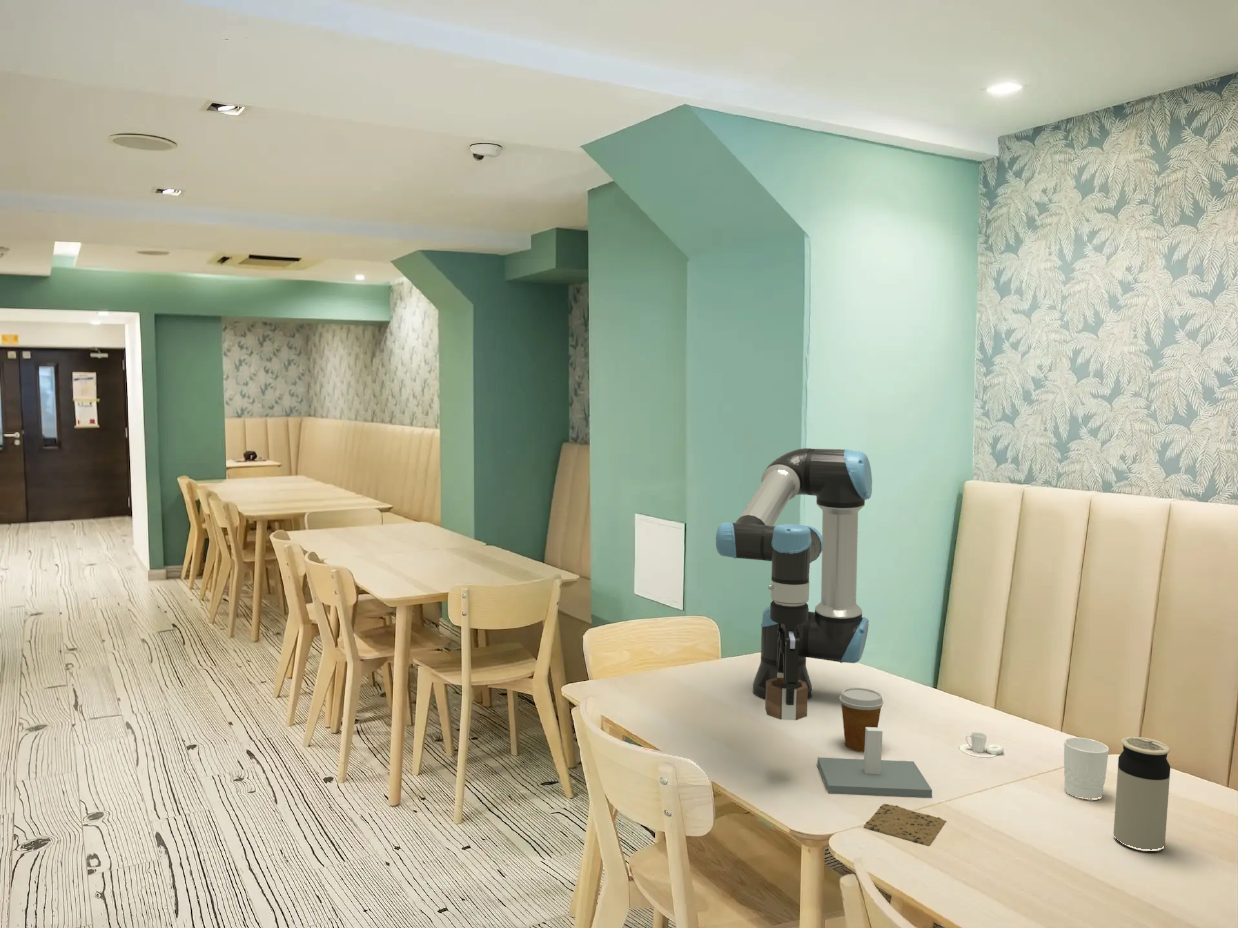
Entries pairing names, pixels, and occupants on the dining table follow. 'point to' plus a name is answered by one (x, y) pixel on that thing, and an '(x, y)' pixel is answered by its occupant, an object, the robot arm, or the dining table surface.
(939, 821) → the speckled square slab
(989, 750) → the teacup and saucer
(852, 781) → the shaft board
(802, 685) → the brown octagonal ring
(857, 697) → the disposable coffee cup
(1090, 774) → the white cup
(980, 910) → the dining table surface
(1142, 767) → the travel mug
